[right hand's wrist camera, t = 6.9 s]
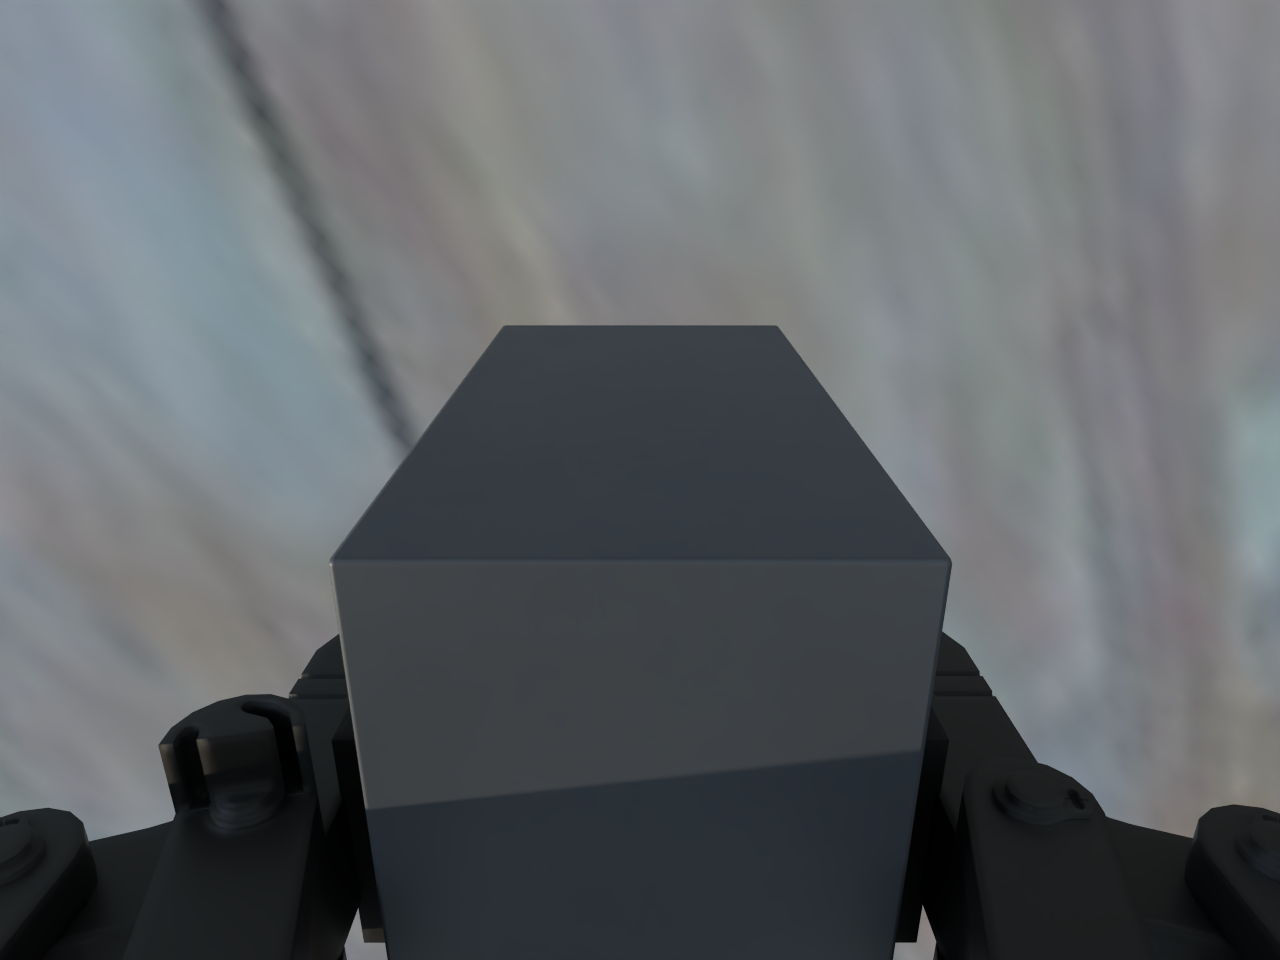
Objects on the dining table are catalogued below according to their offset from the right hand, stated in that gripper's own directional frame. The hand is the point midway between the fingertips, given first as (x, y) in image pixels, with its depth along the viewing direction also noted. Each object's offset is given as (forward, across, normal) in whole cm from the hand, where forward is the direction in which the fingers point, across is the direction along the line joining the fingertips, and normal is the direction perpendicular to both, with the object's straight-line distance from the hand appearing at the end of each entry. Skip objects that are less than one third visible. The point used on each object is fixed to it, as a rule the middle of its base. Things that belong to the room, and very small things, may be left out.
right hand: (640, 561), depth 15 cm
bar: (+1, 0, -9) cm, 9 cm away
